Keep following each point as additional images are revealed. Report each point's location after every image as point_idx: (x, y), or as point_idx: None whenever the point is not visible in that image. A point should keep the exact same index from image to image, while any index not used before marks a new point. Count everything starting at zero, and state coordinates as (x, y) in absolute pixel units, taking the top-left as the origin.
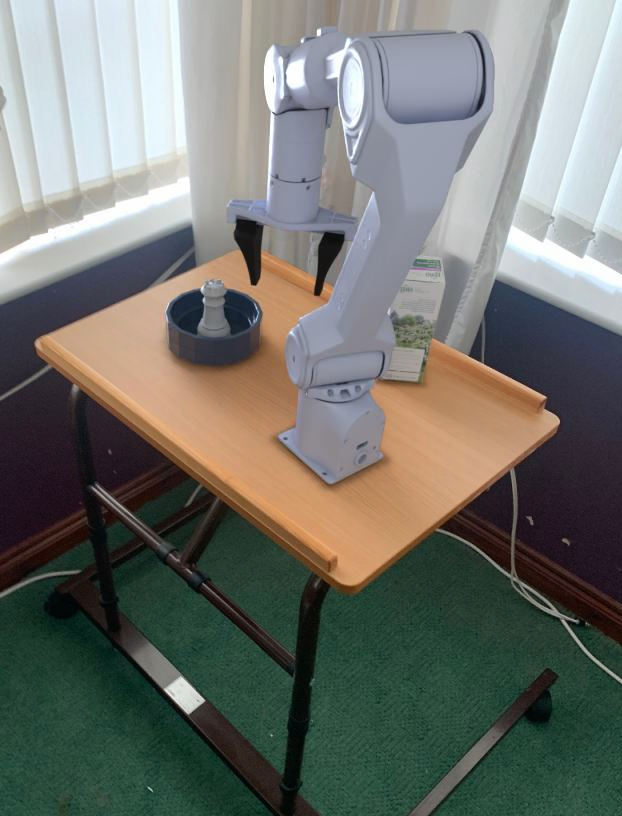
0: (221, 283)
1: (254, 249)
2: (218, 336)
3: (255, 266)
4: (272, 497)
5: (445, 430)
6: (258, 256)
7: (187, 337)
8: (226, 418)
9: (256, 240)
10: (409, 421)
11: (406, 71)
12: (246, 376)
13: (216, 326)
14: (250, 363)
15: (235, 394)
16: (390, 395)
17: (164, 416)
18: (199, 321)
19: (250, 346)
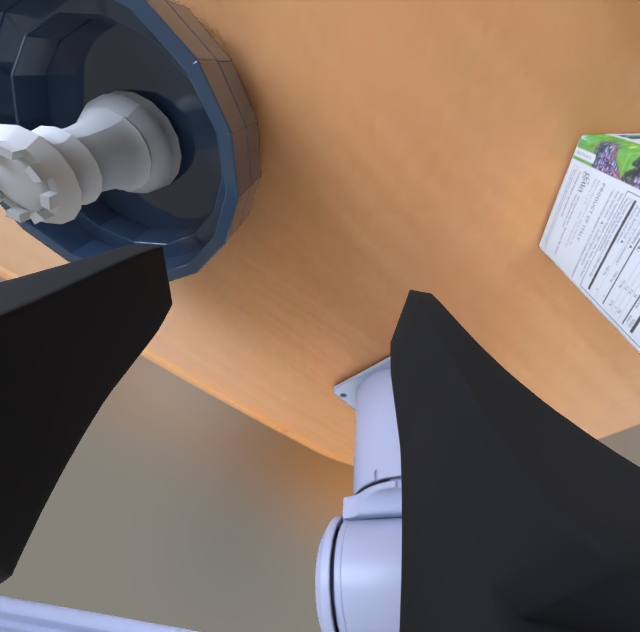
0: (33, 176)
1: (57, 464)
2: (154, 189)
3: (121, 364)
4: (335, 448)
5: (611, 361)
6: (90, 334)
7: None
8: (255, 354)
9: (11, 475)
10: (554, 346)
11: None
12: (258, 258)
13: (132, 186)
14: (255, 214)
15: (252, 306)
16: (548, 287)
17: (170, 355)
18: (64, 52)
19: (241, 222)
